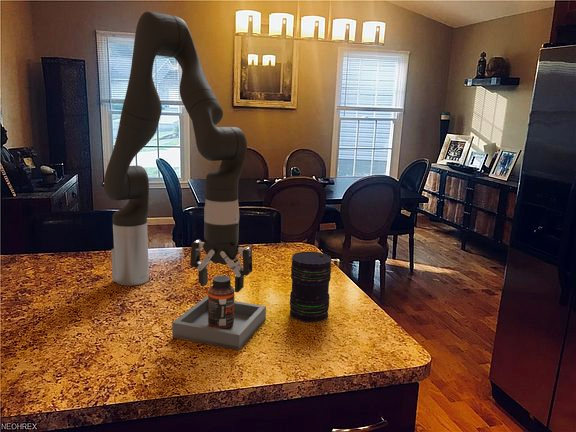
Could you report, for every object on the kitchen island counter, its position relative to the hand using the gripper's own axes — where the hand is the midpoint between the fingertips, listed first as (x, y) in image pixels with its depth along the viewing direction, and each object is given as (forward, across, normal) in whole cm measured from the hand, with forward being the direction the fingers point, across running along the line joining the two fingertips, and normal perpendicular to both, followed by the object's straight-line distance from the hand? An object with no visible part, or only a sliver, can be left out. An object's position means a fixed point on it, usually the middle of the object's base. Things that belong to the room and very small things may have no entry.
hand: (220, 288), depth 106 cm
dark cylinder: (+10, +17, +15) cm, 25 cm away
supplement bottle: (+9, 0, 0) cm, 9 cm away
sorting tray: (+10, 0, 0) cm, 10 cm away
